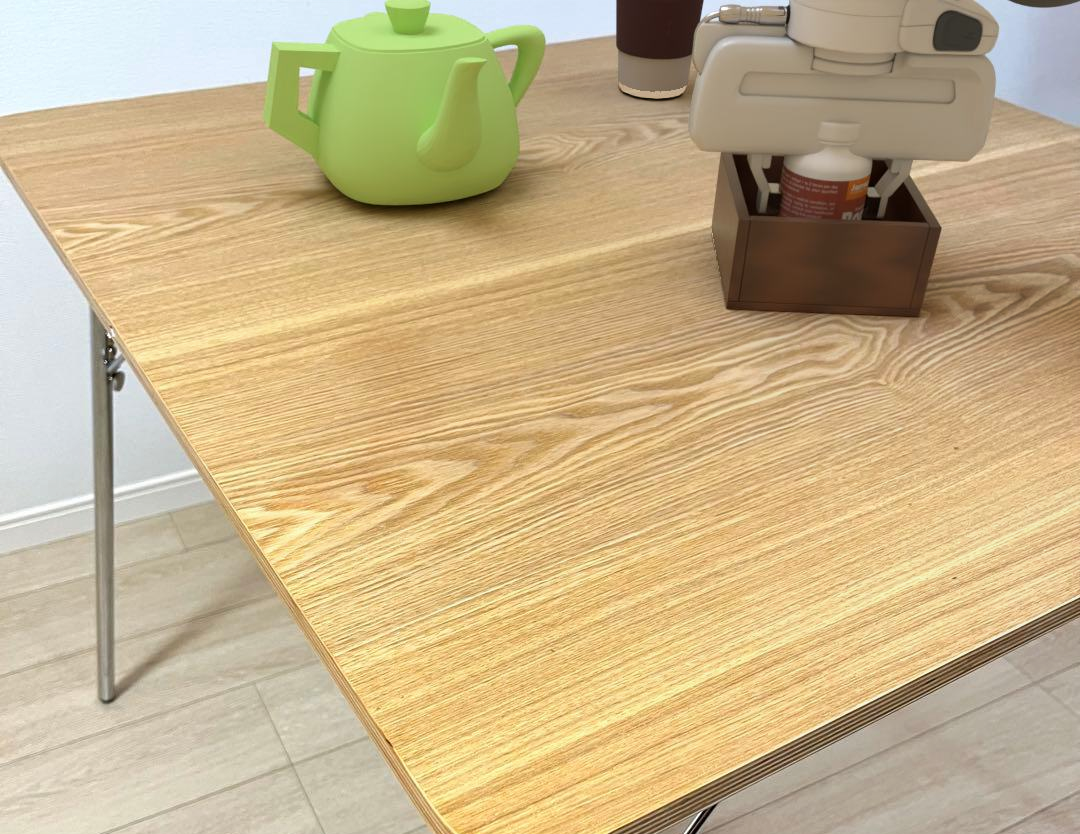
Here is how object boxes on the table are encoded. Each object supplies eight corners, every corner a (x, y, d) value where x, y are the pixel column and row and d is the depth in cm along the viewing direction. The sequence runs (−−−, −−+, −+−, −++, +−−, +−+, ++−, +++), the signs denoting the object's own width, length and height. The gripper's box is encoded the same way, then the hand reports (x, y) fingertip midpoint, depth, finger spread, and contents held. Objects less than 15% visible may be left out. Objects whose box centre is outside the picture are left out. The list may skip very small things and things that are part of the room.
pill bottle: (844, 288, 82) (875, 133, 75) (760, 273, 84) (783, 120, 77) (856, 255, 87) (887, 107, 80) (776, 242, 88) (800, 95, 82)
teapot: (369, 132, 108) (358, -35, 99) (567, 165, 102) (574, -9, 93) (261, 200, 94) (237, 12, 85) (483, 242, 88) (482, 46, 79)
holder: (880, 239, 91) (899, 157, 87) (919, 317, 80) (942, 227, 76) (710, 232, 91) (720, 149, 87) (726, 309, 80) (738, 219, 76)
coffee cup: (585, 87, 121) (593, -71, 111) (649, 71, 126) (662, -81, 117) (654, 111, 115) (669, -54, 106) (718, 93, 120) (737, -65, 111)
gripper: (701, 15, 72) (678, 224, 80) (1025, 27, 72) (968, 236, 80) (694, -8, 77) (673, 191, 85) (997, 3, 77) (946, 202, 85)
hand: (818, 213), depth 83 cm, fingers closed on pill bottle, 6 cm apart
